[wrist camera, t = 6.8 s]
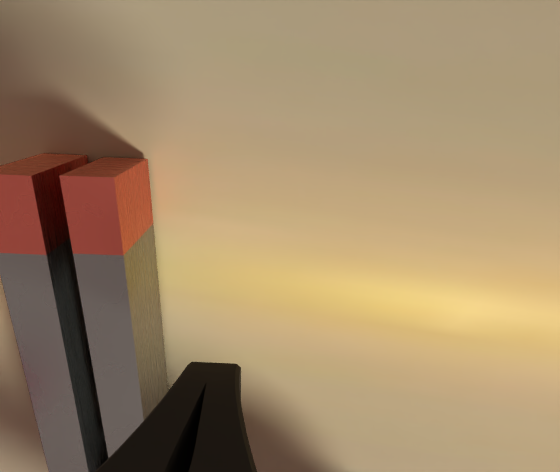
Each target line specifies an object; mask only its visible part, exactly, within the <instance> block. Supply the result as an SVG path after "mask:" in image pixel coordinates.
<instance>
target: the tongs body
mask: <svg viewBox="0 0 560 472" xmlns="http://www.w3.org/2000/svg"><path fill="white" fill-rule="evenodd" d="M86 164H88V160H87V155H71V154H49V153H43V154H39V155H36V156H32V157H29V158H26V159H22V160H19V161H15V162H12V163H9V164H5V165H2V166H0V275H1V279H2V283H3V288H4V292H5V296H6V300H7V304H8V308H9V312H10V316H11V320H12V324H13V328H14V332H15V336H16V340H17V344H18V348H19V352H20V357H21V361H22V365H23V369H24V373H25V377H26V381H27V385H28V389H29V393H30V397H31V401H32V405H33V409H34V413H35V417H36V422H37V426H38V430H39V434H40V438H41V442H42V446H43V450H44V454H45V458H46V462H47V466H48V470H49V472H95V471H96V470H97V469H98V468H99V467H100V466H101V465H102V464H103V463H104V462H105V461H106V460H107V459H108V452H107V447H106V441H105V435H104V429H103V424H102V418H101V412H100V406H99V401H98V395H97V389H96V383H95V378H94V372H93V366H92V360H91V355H90V349H89V343H88V337H87V332H86V326H85V320H84V314H83V309H82V303H81V297H80V291H79V286H78V280H77V274H76V268H75V263H74V257H73V251H72V245H71V240H70V234H69V228H68V222H67V217H66V211H65V205H64V199H63V194H62V188H61V182H60V176H59V175H62V174H64V173H67V172H69V171H72V170H74V169H76V168H79V167H81V166H84V165H86Z"/></svg>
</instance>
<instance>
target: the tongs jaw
mask: <svg viewBox="0 0 560 472" xmlns="http://www.w3.org/2000/svg"><path fill="white" fill-rule="evenodd" d="M59 176H60V182H61V188H62V194H63V199H64V205H65V211H66V217H67V222H68V228H69V234H70V240H71V245H72V251H73V257H74V263H75V268H76V274H77V280H78V286H79V291H80V297H81V303H82V309H83V314H84V320H85V326H86V332H87V337H88V343H89V349H90V355H91V360H92V366H93V372H94V378H95V383H96V389H97V395H98V401H99V406H100V412H101V418H102V424H103V429H104V435H105V441H106V447H107V452H108V458H109V457H110V456H111V455H112V454H113V453H114V452H115V451H116V450H117V449H118V448H119V447H120V446H121V445H122V444H123V443H124V442H125V441H126V440H127V438H128V437H129V436H130V435H131V434H132V433H133V432H134V431H135V430H136V429H137V428H138V427H139V426H140V424H141V423H142V422H143V421H144V420H145V419H146V417H147V416H148V415H149V414H150V413H151V412H152V410H153V409H154V408H155V407H156V406H157V404H158V403H159V402H160V401H161V400H162V398H163V397H164V396H165V395H166V393H167V392H168V384H167V373H166V362H165V351H164V339H163V328H162V317H161V305H160V294H159V283H158V271H157V260H156V249H155V238H154V226H153V215H152V204H151V192H150V181H149V170H148V159H138V158H112V157H103V158H100V159H98V160H96V161H93V162H91V163H88V164H86V165H84V166H81V167H79V168H76V169H74V170H72V171H69V172H67V173H64V174H62V175H59Z"/></svg>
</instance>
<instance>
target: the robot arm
mask: <svg viewBox="0 0 560 472" xmlns="http://www.w3.org/2000/svg"><path fill="white" fill-rule="evenodd" d="M95 472H257V470H256V467H255V464H254V460H253V456H252V453H251V449H250V445H249V441H248V437H247V433H246V428H245V423H244V418H243V413H242V407H241V367H239V366H238V365H237V364H228V363H205V362H191V363H190V364H189V365H187V367H186V368H185V370H184V371H183V372H182V374H181V375H180V377H179V378H178V379H177V381H176V382H175V383H174V384H173V386H172V387H171V388H170V390H169V391H168V392H167V393H166V395H165V396H164V397H163V398H162V400H161V401H160V402H159V403H158V404H157V406H156V407H155V408H154V409H153V410H152V412H151V413H150V414H149V415H148V416H147V417H146V419H145V420H144V421H143V422H142V423H141V424H140V426H139V427H138V428H137V429H136V430H135V431H134V432H133V433H132V434H131V435H130V436H129V437H128V438H127V440H126V441H125V442H124V443H123V444H122V445H121V446H120V447H119V448H118V449H117V450H116V451H115V452H114V453H113V454H112V455H111V456H110V457H109V458H108V459H107V460H106V461H105V462H104V463H103V464H102V465H101V466H100V467H99V468H98V469H97V470H96V471H95Z"/></svg>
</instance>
